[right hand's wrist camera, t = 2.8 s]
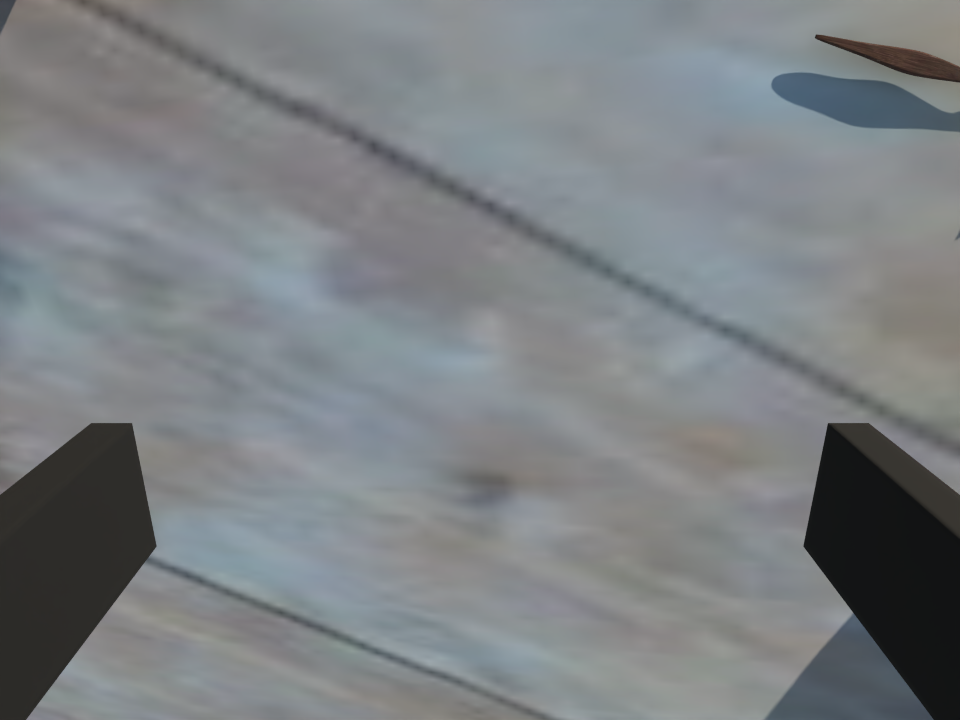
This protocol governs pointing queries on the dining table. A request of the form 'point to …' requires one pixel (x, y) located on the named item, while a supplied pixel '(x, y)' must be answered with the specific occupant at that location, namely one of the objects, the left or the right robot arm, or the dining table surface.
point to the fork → (899, 59)
